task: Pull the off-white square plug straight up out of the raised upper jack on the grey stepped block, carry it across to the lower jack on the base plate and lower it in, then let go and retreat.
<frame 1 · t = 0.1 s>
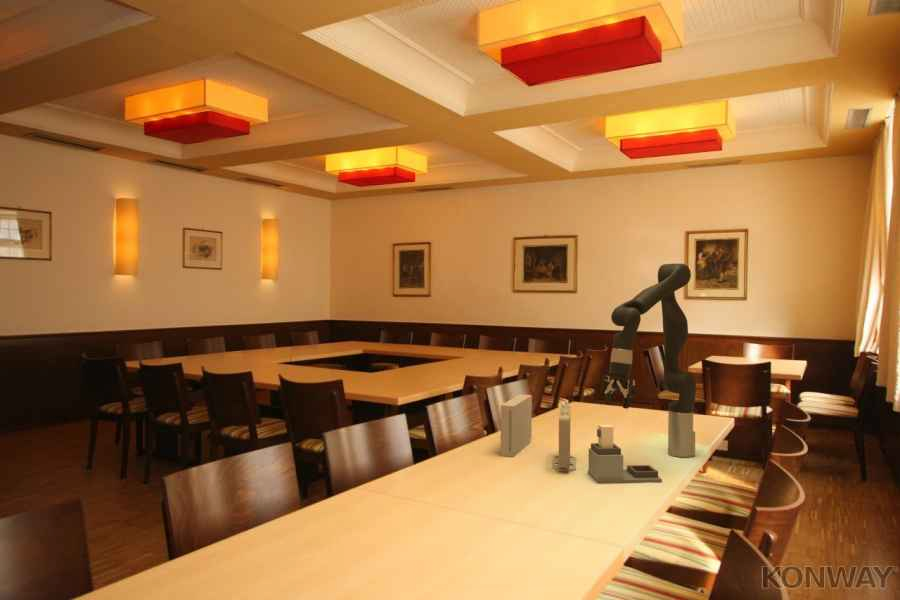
hand: (616, 406, 225), 23 cm above the table, tool pointing down, fingers open, 8 cm apart
network device: (564, 464, 232), on the table
game console: (516, 449, 254), on the table
plug: (605, 451, 215), point 9 cm above the table, touching grey stepped block
grey stepped block: (623, 477, 215), on the table
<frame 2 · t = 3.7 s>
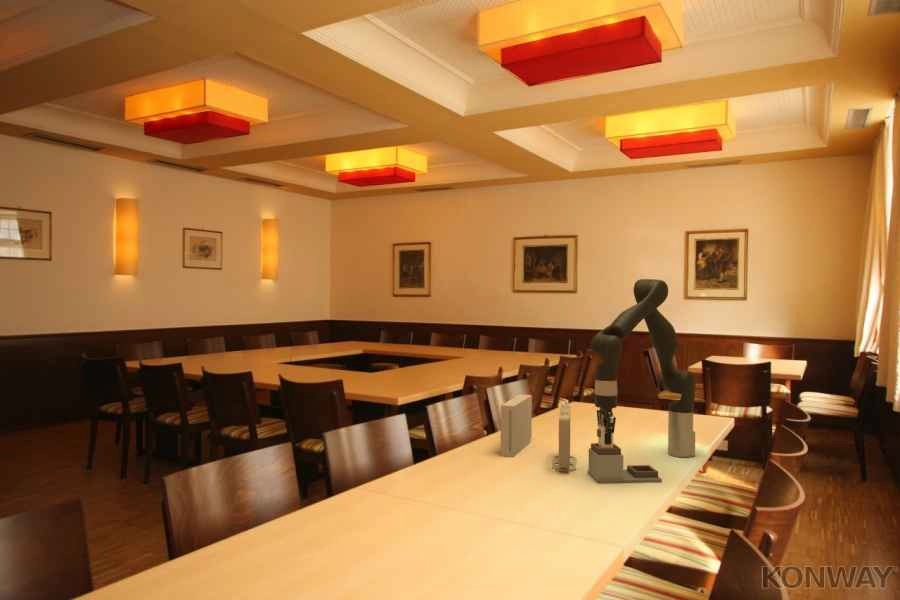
hand: (605, 442, 215), 12 cm above the table, tool pointing down, fingers closed on plug, 4 cm apart
plug: (605, 451, 215), point 9 cm above the table, touching grey stepped block, gripper
everything else where it was.
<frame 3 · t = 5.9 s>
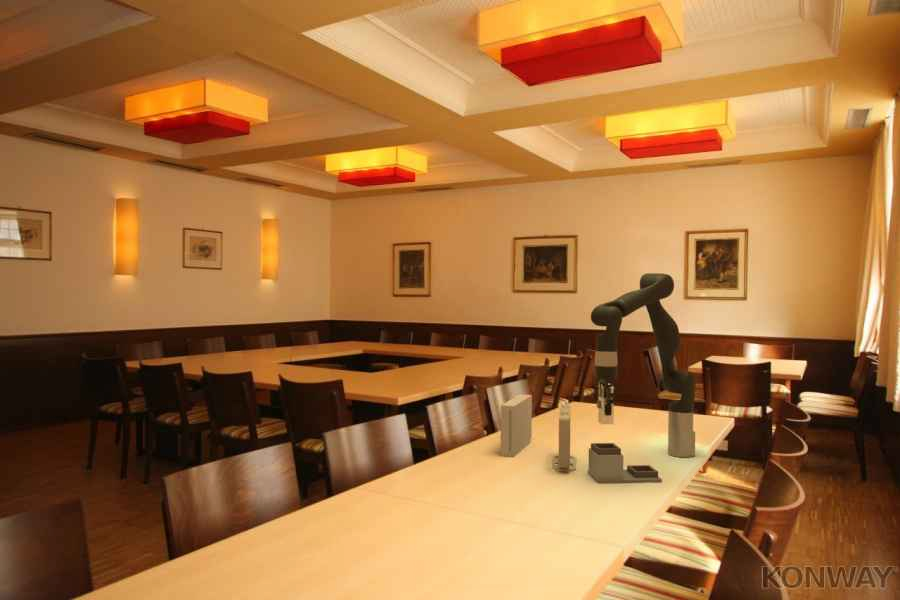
hand: (605, 413, 214), 22 cm above the table, tool pointing down, fingers closed on plug, 4 cm apart
plug: (605, 423, 214), point 19 cm above the table, touching gripper
everything else where it was.
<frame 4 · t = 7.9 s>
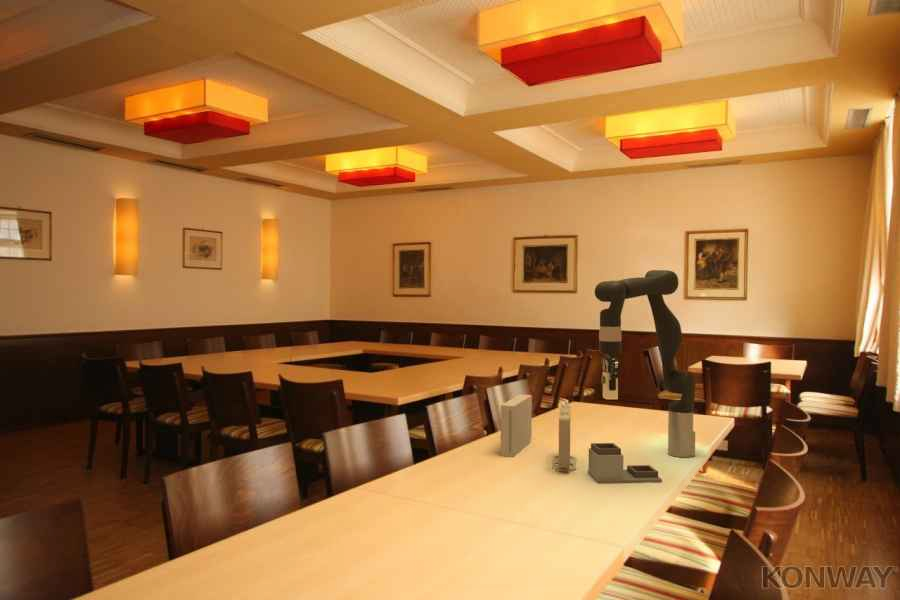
hand: (610, 388, 215), 31 cm above the table, tool pointing down, fingers closed on plug, 4 cm apart
plug: (610, 398, 215), point 27 cm above the table, touching gripper
everything else where it was.
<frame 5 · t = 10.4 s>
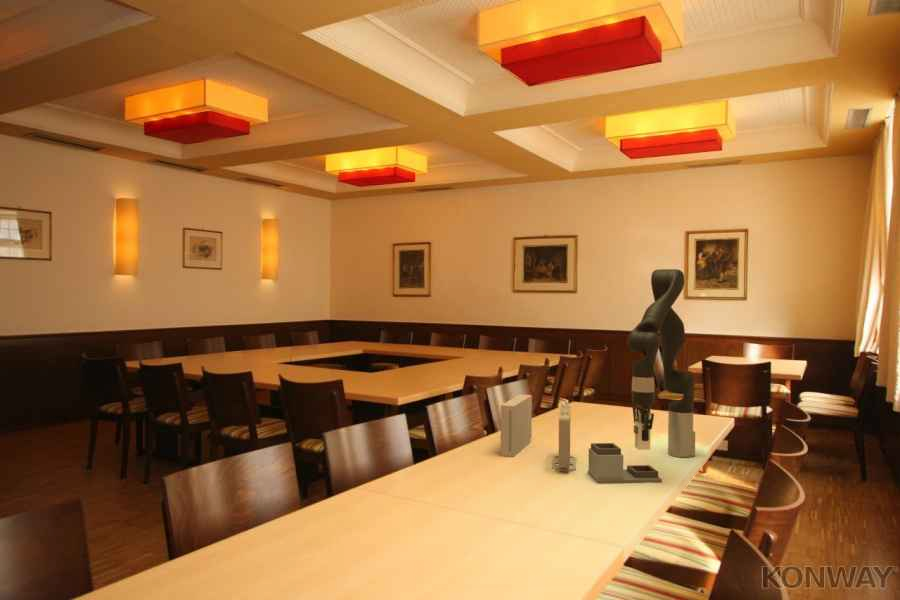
hand: (642, 438, 215), 13 cm above the table, tool pointing down, fingers closed on plug, 4 cm apart
plug: (642, 448, 215), point 10 cm above the table, touching gripper
everything else where it was.
when the fingers open (5 cm above the table, at t = 12.6 s): plug stays where it is, resting on grey stepped block.
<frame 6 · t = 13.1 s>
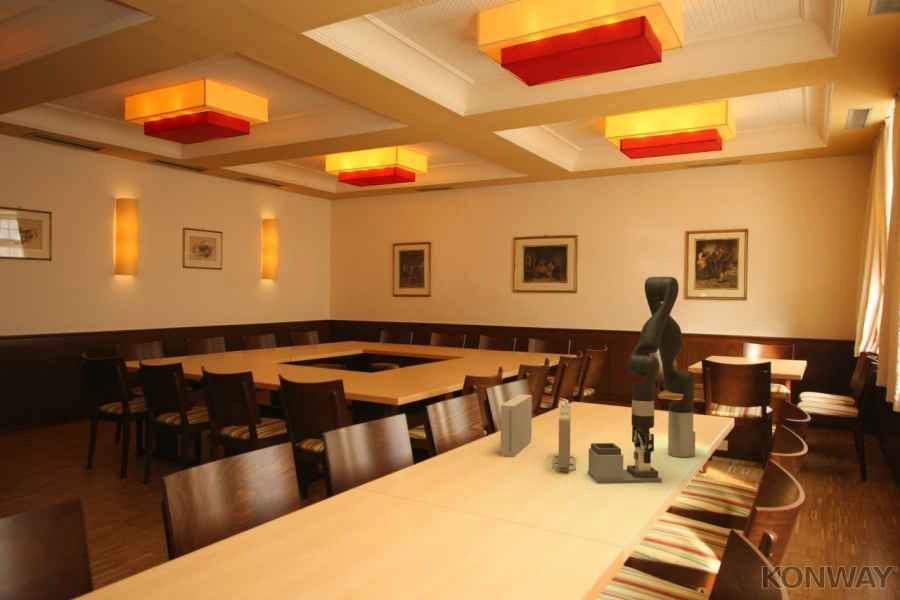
hand: (642, 459, 215), 6 cm above the table, tool pointing down, fingers open, 8 cm apart
plug: (642, 474, 215), point 1 cm above the table, touching grey stepped block
everything else where it was.
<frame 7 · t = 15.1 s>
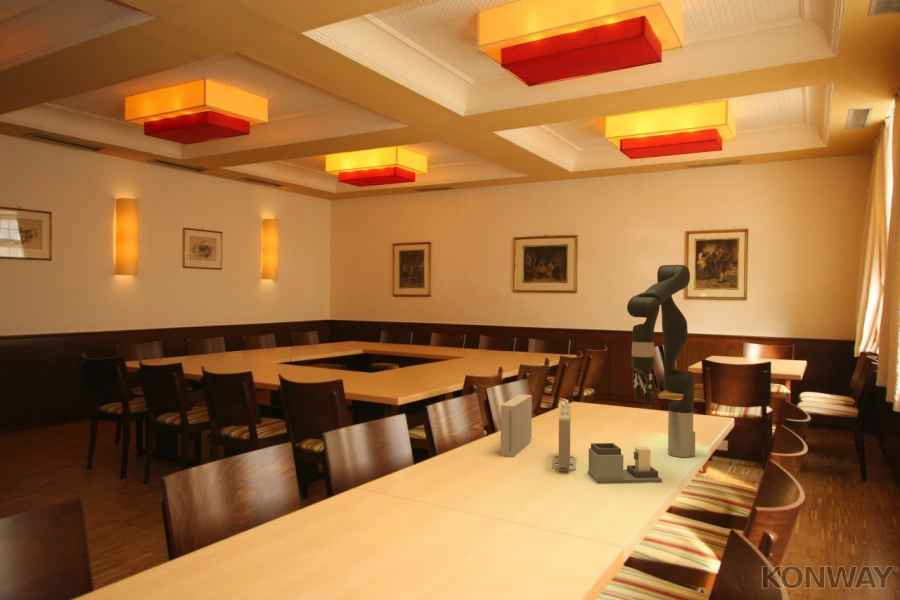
hand: (642, 401, 215), 26 cm above the table, tool pointing down, fingers open, 8 cm apart
nothing on the table moved.
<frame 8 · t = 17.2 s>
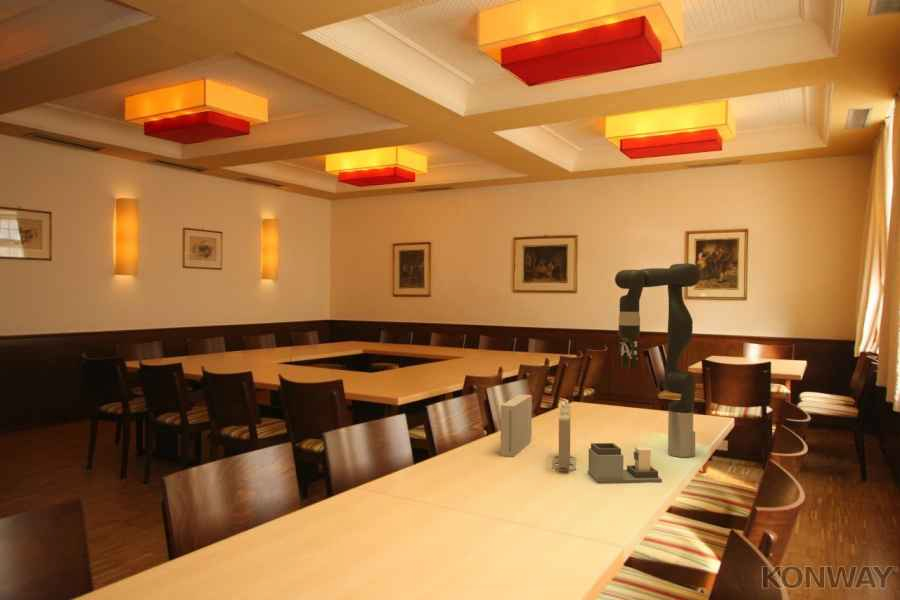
hand: (628, 368, 229), 36 cm above the table, tool pointing down, fingers open, 8 cm apart
nothing on the table moved.
at the end: plug 0.1 cm from the target spot on the grey stepped block, point 1.0 cm above the grey stepped block's base; plug tilted 0°; the gripper is holding nothing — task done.
